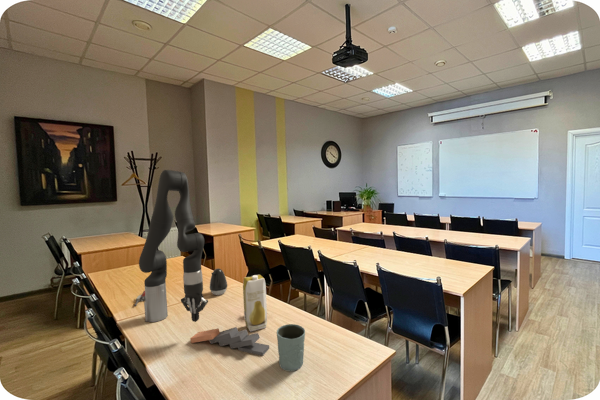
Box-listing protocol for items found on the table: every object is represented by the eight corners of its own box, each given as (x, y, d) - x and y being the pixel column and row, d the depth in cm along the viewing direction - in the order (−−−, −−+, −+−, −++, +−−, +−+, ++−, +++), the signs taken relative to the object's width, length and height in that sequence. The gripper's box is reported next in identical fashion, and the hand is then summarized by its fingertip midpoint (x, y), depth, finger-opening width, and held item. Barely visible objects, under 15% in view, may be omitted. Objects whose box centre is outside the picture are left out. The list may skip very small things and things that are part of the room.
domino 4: (229, 343, 110) (251, 339, 106) (237, 337, 115) (258, 332, 110) (231, 348, 110) (252, 344, 106) (238, 342, 114) (259, 337, 110)
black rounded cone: (206, 295, 164) (204, 270, 163) (217, 289, 173) (216, 265, 172) (220, 298, 160) (218, 272, 159) (231, 291, 170) (229, 266, 169)
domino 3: (218, 341, 112) (239, 335, 108) (226, 335, 117) (246, 329, 113) (220, 346, 112) (241, 340, 108) (227, 339, 116) (248, 333, 112)
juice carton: (248, 333, 121) (246, 279, 119) (243, 325, 128) (241, 274, 126) (268, 328, 125) (266, 275, 123) (262, 320, 132) (260, 270, 130)
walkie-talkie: (140, 294, 170) (133, 308, 151) (139, 287, 170) (132, 300, 151) (156, 292, 173) (151, 305, 154) (156, 285, 172) (150, 297, 154)
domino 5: (238, 347, 109) (262, 352, 105) (245, 340, 113) (269, 345, 109) (238, 352, 109) (263, 357, 105) (245, 345, 114) (269, 350, 110)
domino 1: (190, 338, 115) (211, 334, 111) (198, 332, 120) (218, 328, 116) (191, 343, 115) (212, 339, 111) (199, 336, 120) (219, 332, 116)
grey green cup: (277, 355, 105) (276, 324, 104) (304, 353, 105) (303, 322, 105) (278, 374, 94) (276, 340, 94) (307, 371, 95) (306, 337, 95)
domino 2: (208, 339, 114) (229, 333, 110) (216, 333, 118) (236, 326, 115) (210, 344, 114) (231, 337, 110) (218, 337, 118) (238, 331, 114)
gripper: (211, 279, 119) (214, 318, 120) (186, 276, 123) (189, 314, 124) (200, 285, 111) (202, 327, 113) (174, 282, 116) (176, 322, 117)
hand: (195, 320), depth 118 cm, fingers closed
